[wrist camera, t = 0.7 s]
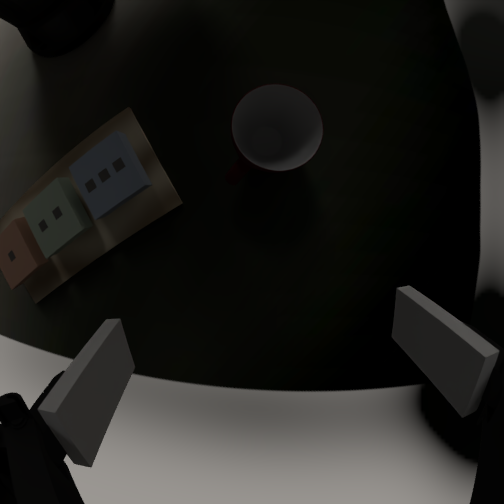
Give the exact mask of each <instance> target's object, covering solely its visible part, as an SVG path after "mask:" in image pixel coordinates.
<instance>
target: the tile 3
mask: <svg viewBox="0 0 504 504" xmlns="http://www.w3.org/2000/svg"><path fill="white" fill-rule="evenodd" d="M69 169H70V172H71V174H72V176H73V178H74V180H75V182H76V184H77V186H78V188H79V190H80V192H81V194H82V196H83V198H84V200H85V202H86V204H87V206H88V208H89V210H90V211H91V213H92V215H93V217H94V219H95V220H97V219H100V218H104V217H106V216H107V215H109V214H110V213H112V212H113V211H114V210H116V209H117V208H119V207H120V206H122V205H123V204H124V203H126V202H127V201H129V200H130V199H132V198H133V197H135V196H136V195H138V194H139V193H141V192H142V191H144V190H145V189H147V188H148V187H150V186H151V185H152V183H151V181H150V179H149V177H148V176H147V174H146V172H145V170H144V168H143V166H142V165H141V163H140V161H139V159H138V157H137V155H136V153H135V152H134V150H133V148H132V146H131V144H130V142H129V140H128V138H127V136H126V135H125V134H124V133H121V132H119V131H115V132H113V133H112V134H110V135H109V136H108V137H106V138H105V139H104V140H102V141H101V142H100V143H98V144H97V145H96V146H94V147H93V148H92V149H91V150H89V151H88V152H87V153H85V154H84V155H83V156H82V157H81V158H79V159H78V160H77V161H76V162H74V163H73V164H72V165H71V166H70V167H69Z"/></svg>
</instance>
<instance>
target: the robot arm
mask: <svg viewBox="0 0 504 504" xmlns="http://www.w3.org/2000/svg"><path fill="white" fill-rule="evenodd" d="M113 3H114V0H0V18H1V19H3V20H5V21H7V22H8V23H10V24H12V25H13V26H15V27H17V28H18V30H19V32H20V34H21V36H22V37H23V39H24V41H25V43H26V44H27V46H28V47H29V49H30V50H32V51H33V52H35V53H37V54H38V55H40V56H43V57H56V56H60V55H62V54H65V53H67V52H69V51H71V50H73V49H75V48H76V47H78V46H79V45H81V44H82V43H83V42H85V41H86V40H87V39H88V38H89V37H91V36H92V35H93V34H94V33H95V32H96V31H97V30H98V28H99V27H100V26H101V25H102V24H103V22H104V21H105V19H106V18H107V16H108V15H109V13H110V11H111V9H112V6H113ZM392 338H393V339H394V340H395V341H396V342H397V343H398V345H399V346H400V347H401V348H402V349H403V350H404V351H405V352H406V353H407V354H408V356H409V357H410V358H411V359H412V360H413V361H414V362H415V363H416V364H417V366H418V367H419V368H420V369H421V370H422V371H423V372H424V373H425V375H426V376H427V377H428V378H429V379H430V380H431V381H432V383H433V384H434V385H435V386H436V387H437V388H438V390H439V391H440V392H441V393H442V394H443V395H444V396H445V397H446V399H447V400H448V401H449V402H450V404H451V405H452V406H453V407H454V408H455V409H456V411H457V412H458V413H459V414H460V415H461V416H462V418H463V417H465V416H467V415H469V414H471V413H473V412H474V411H476V410H477V408H478V406H479V403H480V401H481V399H483V400H484V401H485V402H486V405H485V407H484V409H483V412H482V413H481V416H480V418H479V420H478V422H477V425H479V424H480V422H481V420H482V419H483V426H482V436H481V445H480V453H479V460H478V466H477V473H476V478H475V483H474V488H473V492H472V497H471V501H470V504H504V349H503V348H501V347H500V346H499V345H497V344H496V343H495V342H493V341H492V340H491V339H490V338H487V336H485V335H484V334H483V333H481V332H480V331H478V330H477V329H476V328H475V327H473V326H471V325H468V324H466V323H462V322H461V321H459V320H458V319H456V318H455V317H454V316H452V315H451V314H450V313H448V312H447V311H445V310H444V309H443V308H441V307H440V306H438V305H437V304H435V303H434V302H433V301H431V300H430V299H428V298H427V297H425V296H424V295H422V294H421V293H420V292H418V291H417V290H415V289H414V288H412V287H411V286H405V287H399V288H397V292H396V303H395V313H394V323H393V331H392ZM134 368H135V365H134V362H133V359H132V356H131V353H130V350H129V347H128V343H127V340H126V337H125V333H124V330H123V327H122V323H121V320H120V319H106V320H105V322H104V323H103V324H102V325H101V326H100V328H99V329H98V330H97V331H96V333H95V334H94V335H93V336H92V338H91V339H90V340H89V341H88V343H87V344H86V345H85V346H84V348H83V349H82V350H81V351H80V353H79V354H78V355H77V357H76V358H75V359H74V360H73V362H72V363H71V364H70V366H69V367H68V368H67V370H66V371H62V372H61V373H59V374H58V375H56V376H55V377H54V378H53V379H52V381H51V382H50V383H49V385H48V386H47V387H46V388H45V390H44V393H42V394H41V395H40V396H39V398H38V399H37V400H36V402H35V403H34V404H33V406H32V407H31V409H30V410H29V409H28V407H27V405H26V404H25V402H24V400H23V398H22V397H21V395H19V394H18V393H8V394H5V395H3V396H1V397H0V422H1V423H2V424H0V504H84V502H83V500H82V498H81V496H80V494H79V492H78V489H77V487H76V485H75V483H74V480H73V478H72V476H71V473H70V471H69V469H68V466H67V465H66V463H65V462H64V461H63V460H64V458H65V456H66V454H67V455H68V456H69V458H70V459H71V460H72V461H73V463H74V464H78V465H82V466H86V467H92V465H93V462H94V460H95V457H96V455H97V452H98V449H99V447H100V445H101V443H102V440H103V438H104V435H105V433H106V431H107V428H108V426H109V424H110V421H111V419H112V417H113V414H114V412H115V410H116V408H117V405H118V403H119V401H120V399H121V396H122V394H123V392H124V390H125V388H126V386H127V383H128V381H129V379H130V377H131V375H132V373H133V371H134Z"/></svg>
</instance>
